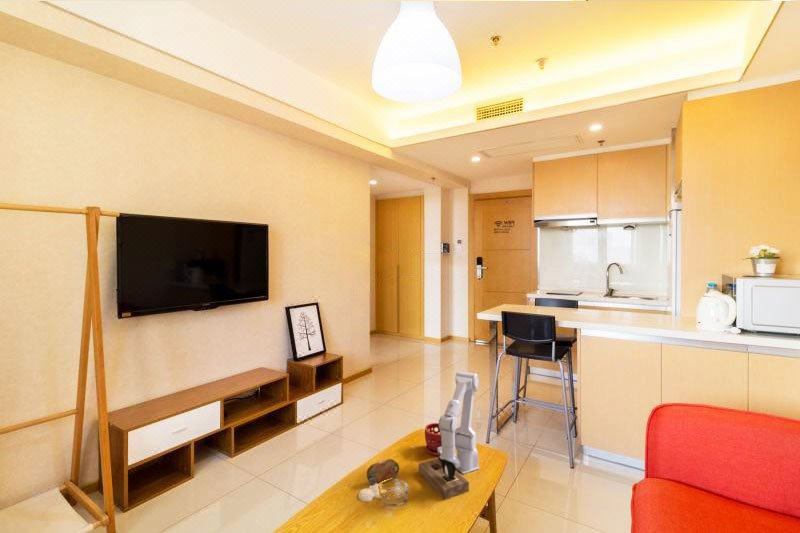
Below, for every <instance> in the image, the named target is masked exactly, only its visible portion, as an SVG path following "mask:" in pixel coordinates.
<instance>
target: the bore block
mask: <svg viewBox="0 0 800 533" xmlns="http://www.w3.org/2000/svg"><path fill="white" fill-rule="evenodd" d="M418 473H419V474H420V476H421V477H422V478H423V479H424V480H425V481H426V482H427V483H428V484H429V485H430V486H431V487H432V488H433V489H434V490H435V491H436V492H437V493H438V494H439V495H440V497H442V498H443V500H448V499H451V498H454V497H457V496H459V495H463V494H465V493H467V492H469V491H470V481H468V480H467V479H466V477H464V476H462V474H460V472H458V471H457V470H456V471H455V474H454V478H452V481H449V482H447V481H446V480H445V474H444V472H443V468H442V465H441V462H440V460H439V457H437V458H433V459H430V460H427V461H424V462H421V463H418Z"/></svg>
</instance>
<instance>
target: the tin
mask: <svg viewBox="0 0 800 533" xmlns="http://www.w3.org/2000/svg"><path fill="white" fill-rule="evenodd" d="M399 472H400V466H399V463H398V462H397V461H396V460H394V459H392V458H389V459H388V458H387V459H386V460H382V461H378V462H375V463H372V464H370V466H369V467H368V469H367V471H366V479H367V481H368V482H369V484H371V485H372V486H373V485H375V483H377V484H379V483H380V482H382V481H384V480H387V479H390V478H394V479H395V478H397V477H398V475H399Z"/></svg>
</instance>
